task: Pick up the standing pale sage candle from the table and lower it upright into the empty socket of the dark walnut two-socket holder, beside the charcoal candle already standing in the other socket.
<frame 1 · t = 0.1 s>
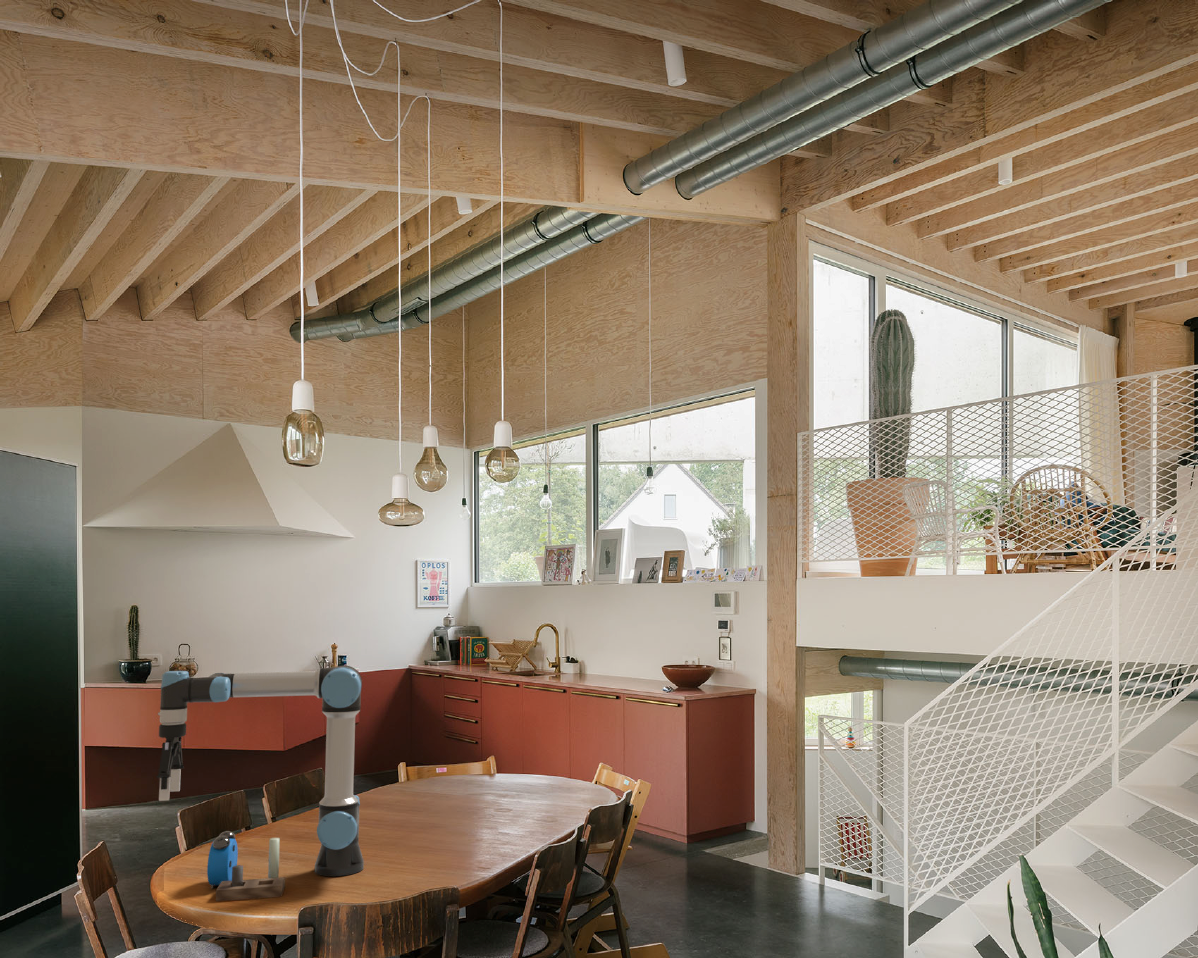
hand: (169, 795, 285), 28 cm above the table, fingers open, 13 cm apart
walnut holder: (251, 893, 280), on the table
alarm clock: (222, 885, 290), on the table
sage candle: (273, 883, 291), on the table
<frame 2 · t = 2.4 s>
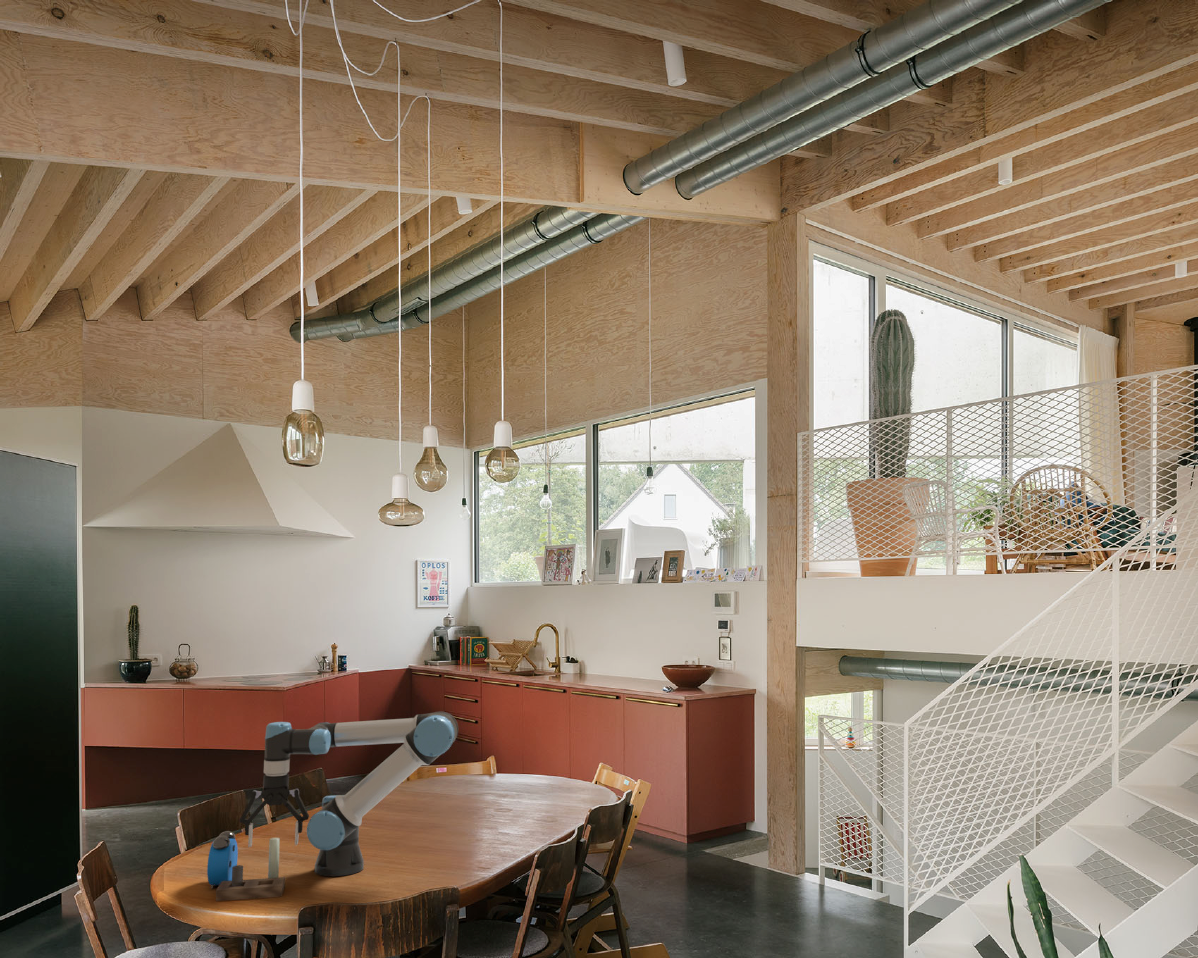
hand: (273, 844, 293), 11 cm above the table, fingers open, 13 cm apart
nothing on the table moved.
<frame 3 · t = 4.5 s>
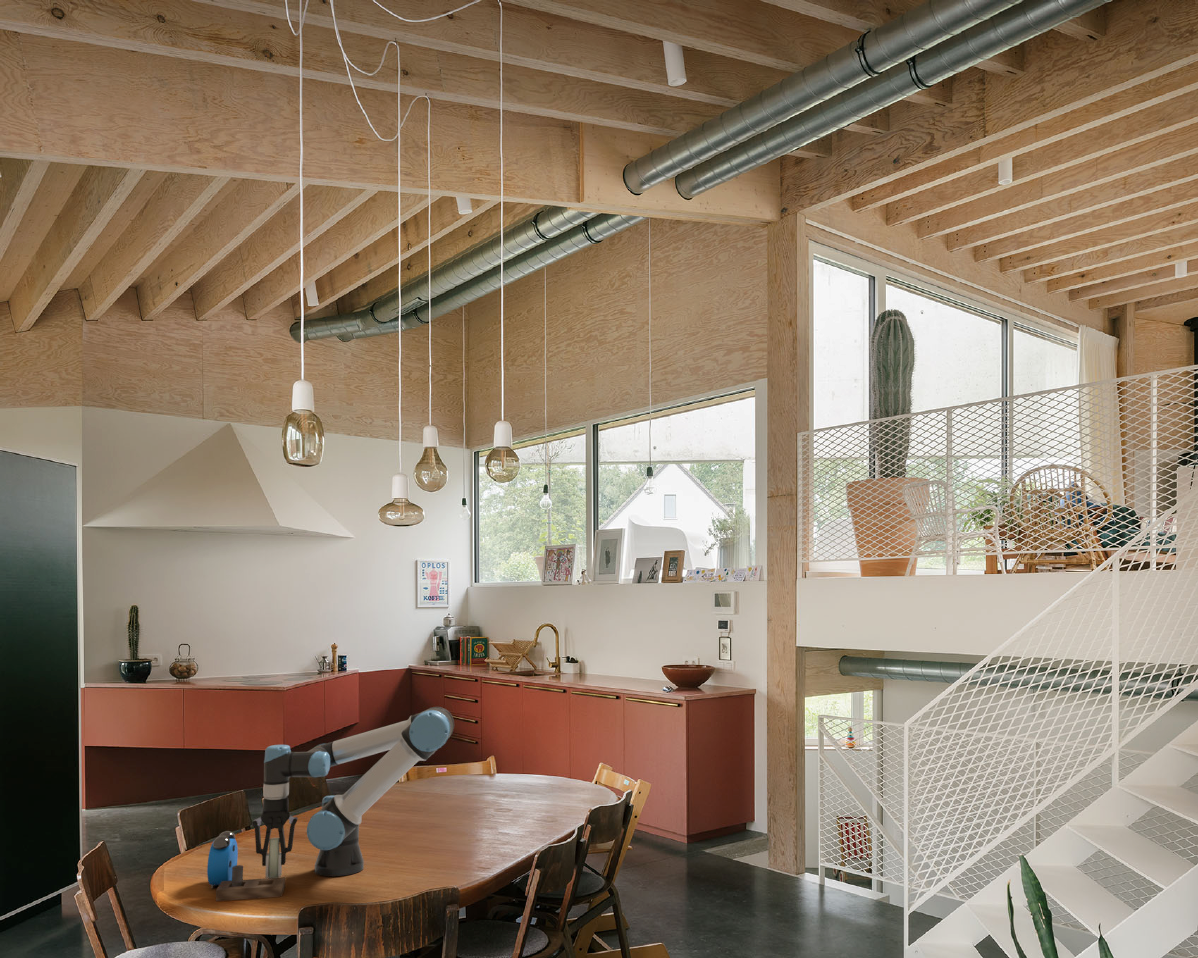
hand: (273, 875, 291), 2 cm above the table, fingers closed on sage candle, 3 cm apart
sage candle: (273, 882, 291), on the table, touching gripper
everything else where it was.
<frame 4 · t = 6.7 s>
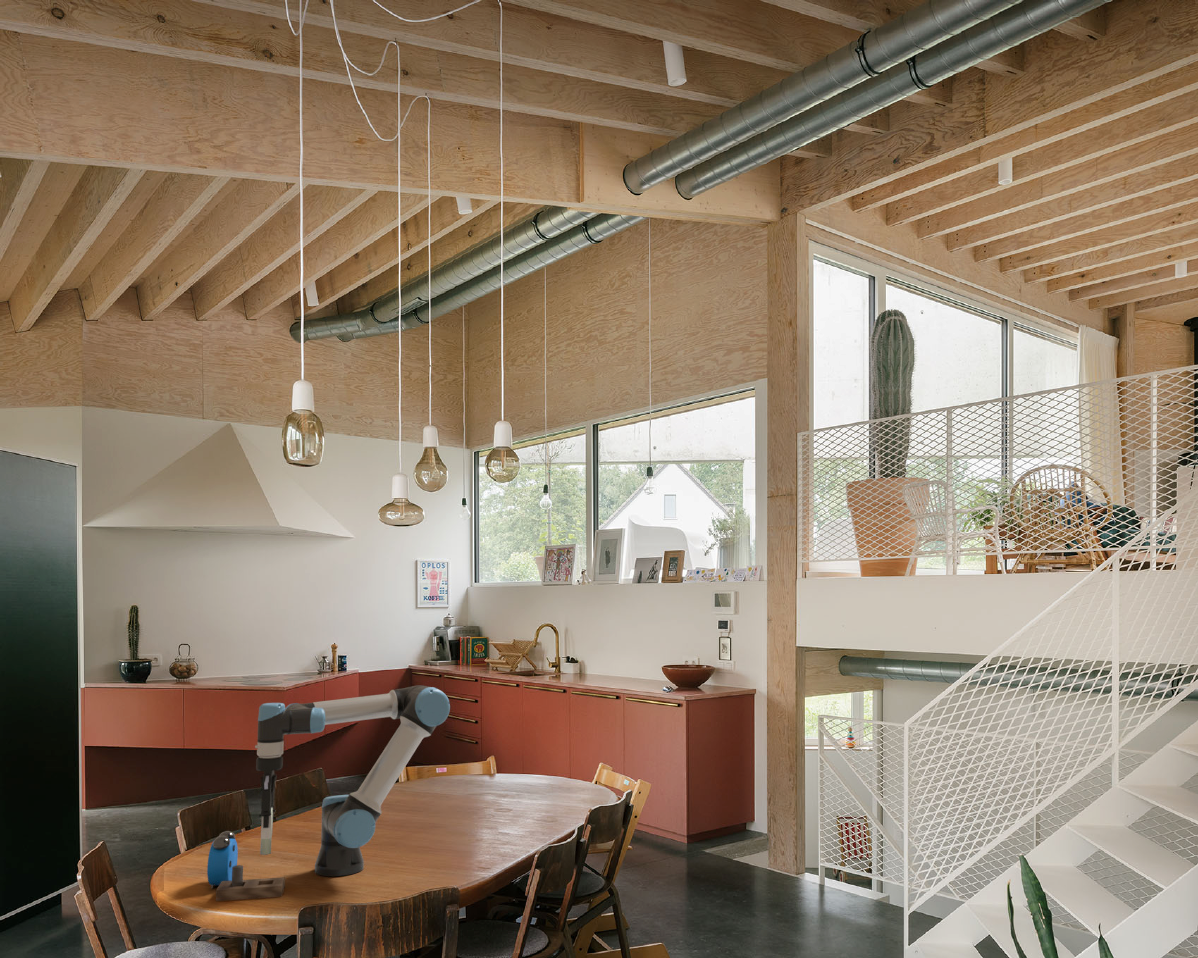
hand: (266, 836, 283), 16 cm above the table, fingers closed on sage candle, 3 cm apart
sage candle: (265, 853, 283), point 11 cm above the table, touching gripper
everything else where it was.
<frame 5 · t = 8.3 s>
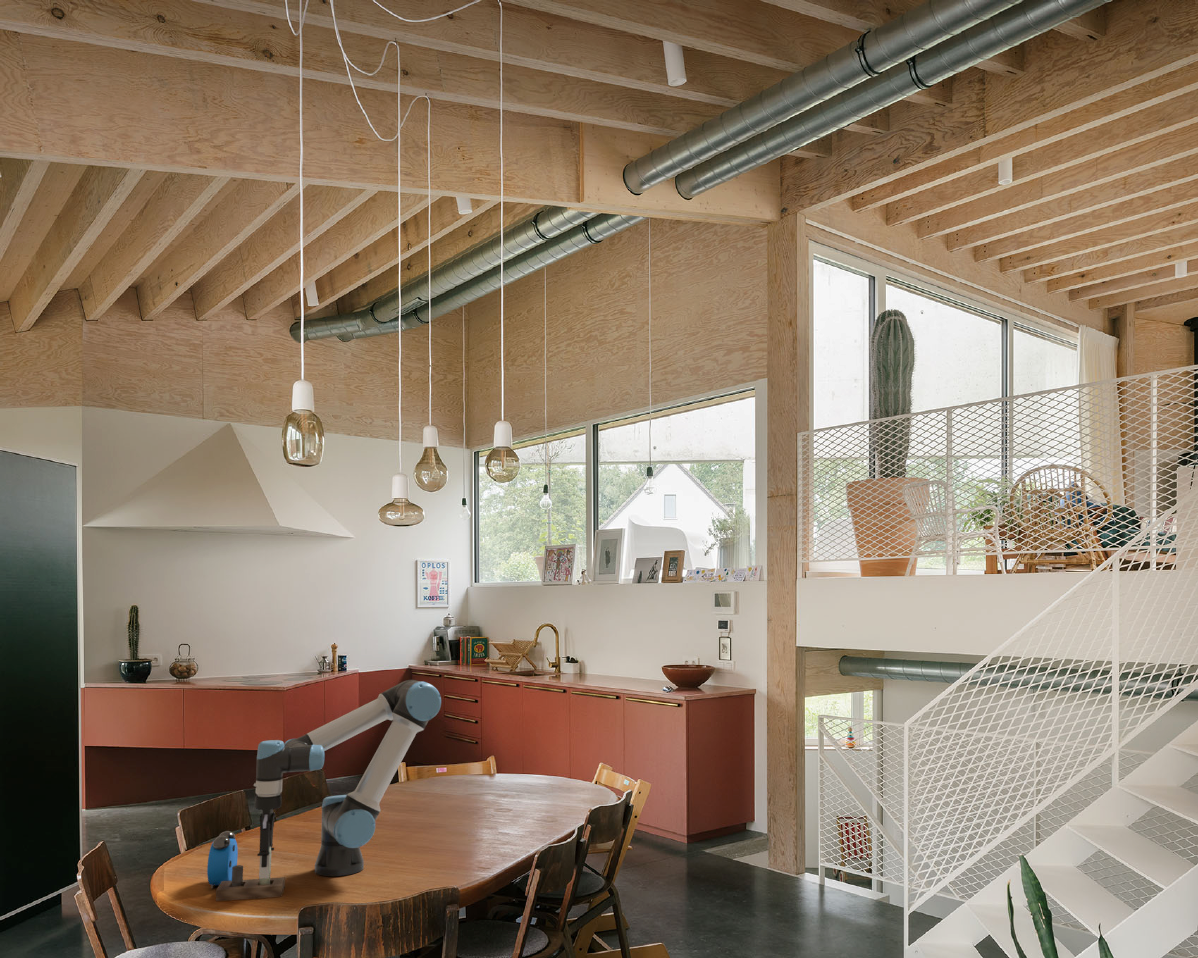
hand: (264, 875, 282), 5 cm above the table, fingers closed on sage candle, 3 cm apart
sage candle: (264, 893, 281), resting in walnut holder, touching gripper
everything else where it was.
when the fingers open (4 cm above the table, at t = 9.0 s): sage candle stays where it is, resting in walnut holder.
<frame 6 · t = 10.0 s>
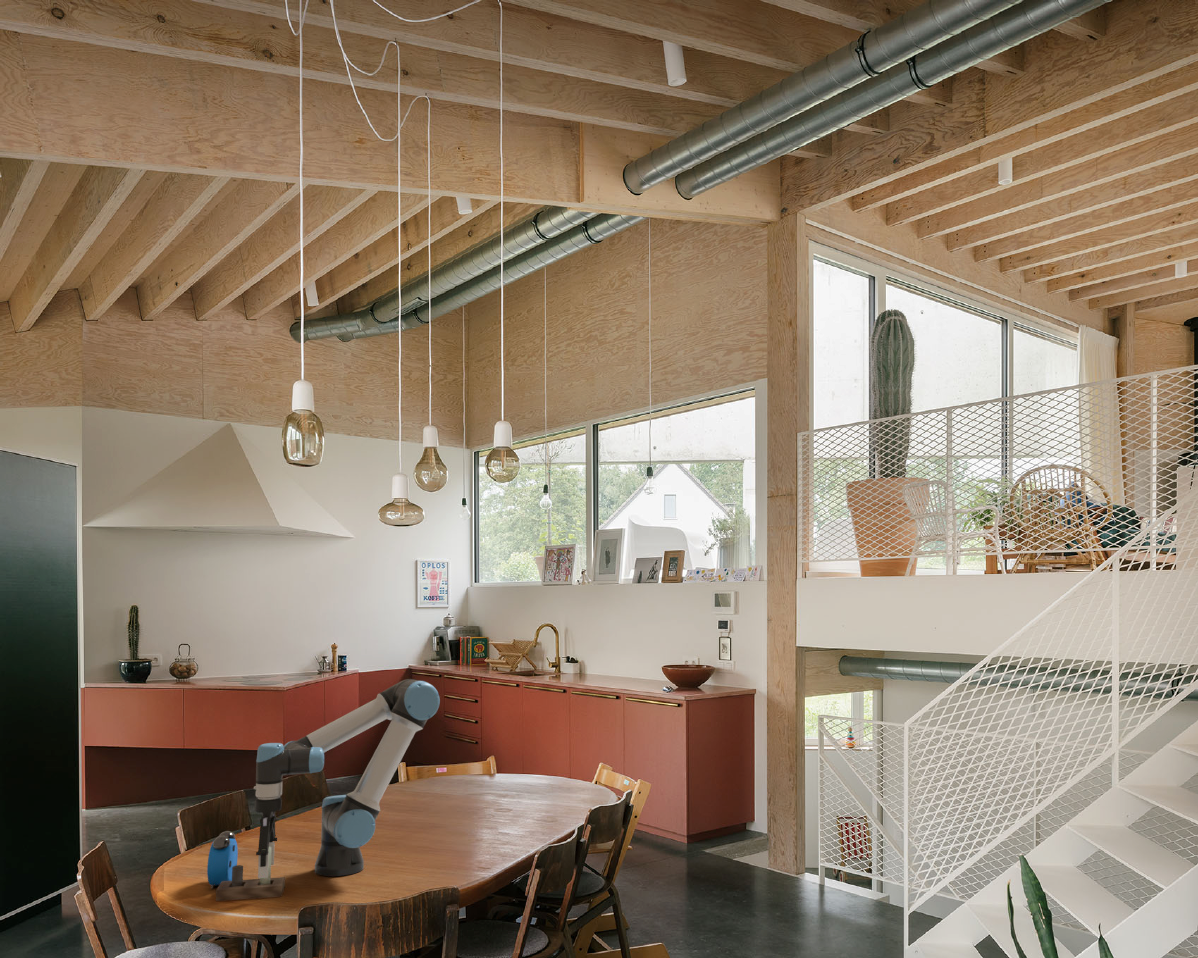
hand: (266, 871, 282), 6 cm above the table, fingers open, 13 cm apart
sage candle: (264, 893, 281), resting in walnut holder
everything else where it was.
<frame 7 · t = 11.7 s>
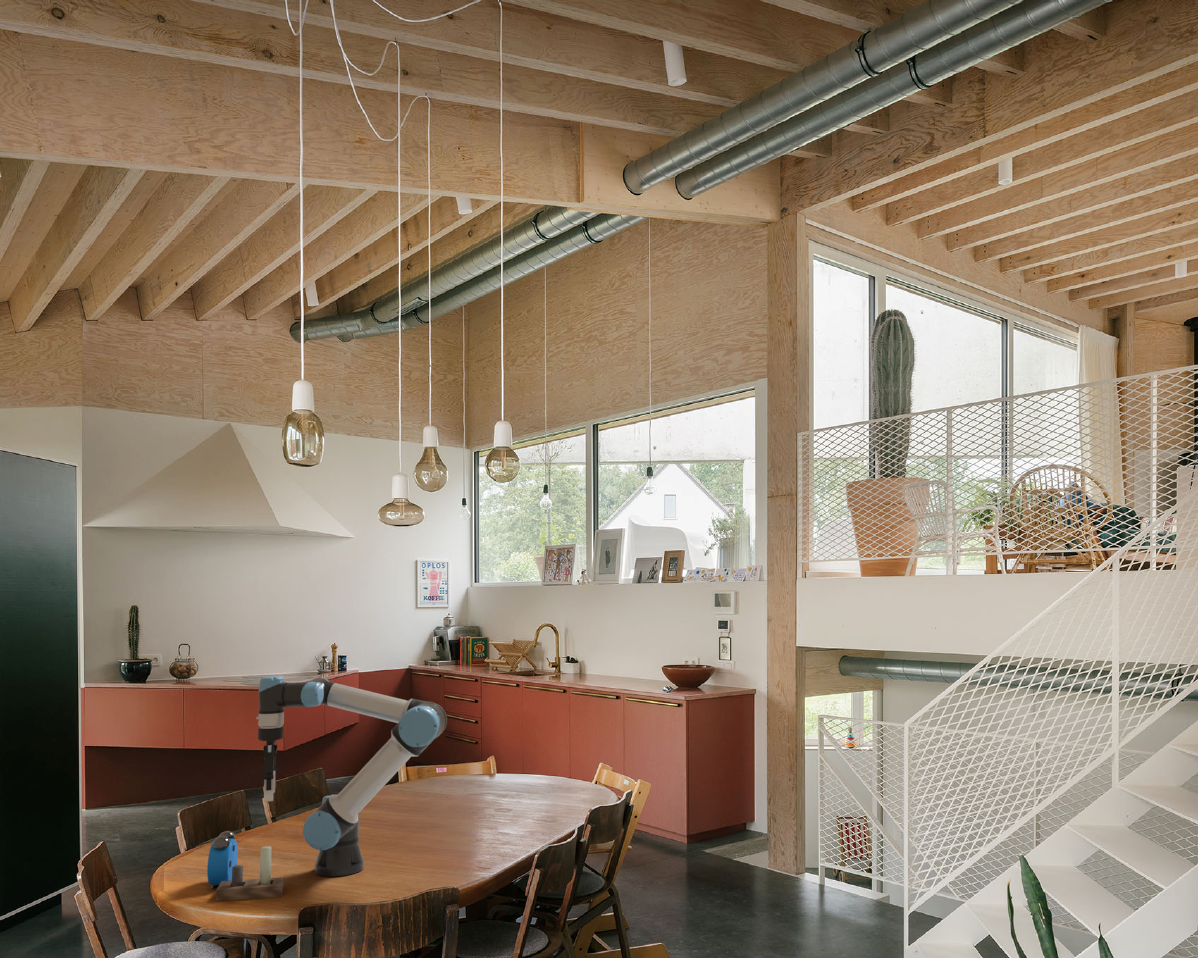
hand: (269, 796, 295), 25 cm above the table, fingers open, 13 cm apart
nothing on the table moved.
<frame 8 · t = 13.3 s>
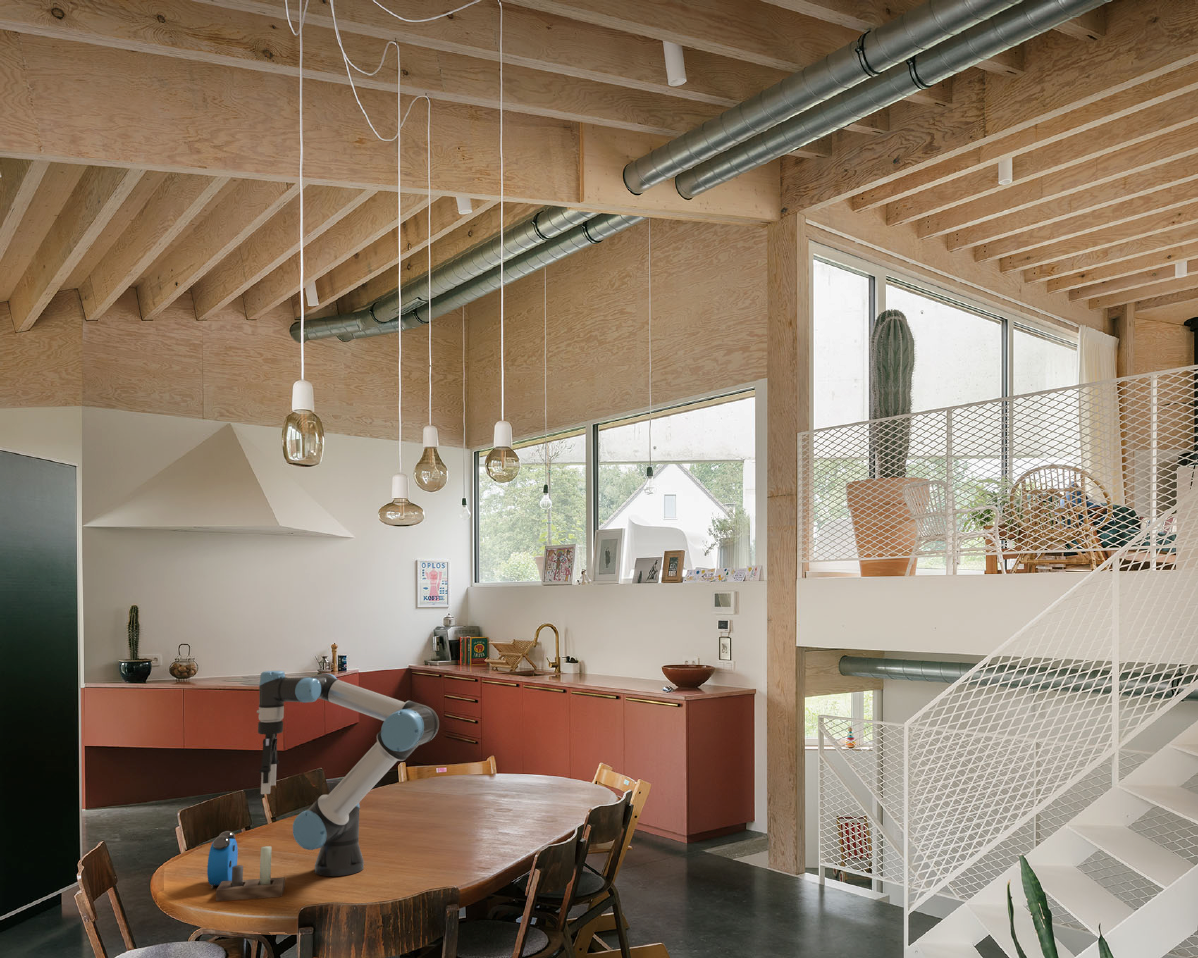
hand: (268, 789, 300), 27 cm above the table, fingers open, 13 cm apart
nothing on the table moved.
at the end: sage candle 0.2 cm from the target spot on the walnut holder, point 0.0 cm above the walnut holder's base; sage candle tilted 0°; the gripper is holding nothing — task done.
